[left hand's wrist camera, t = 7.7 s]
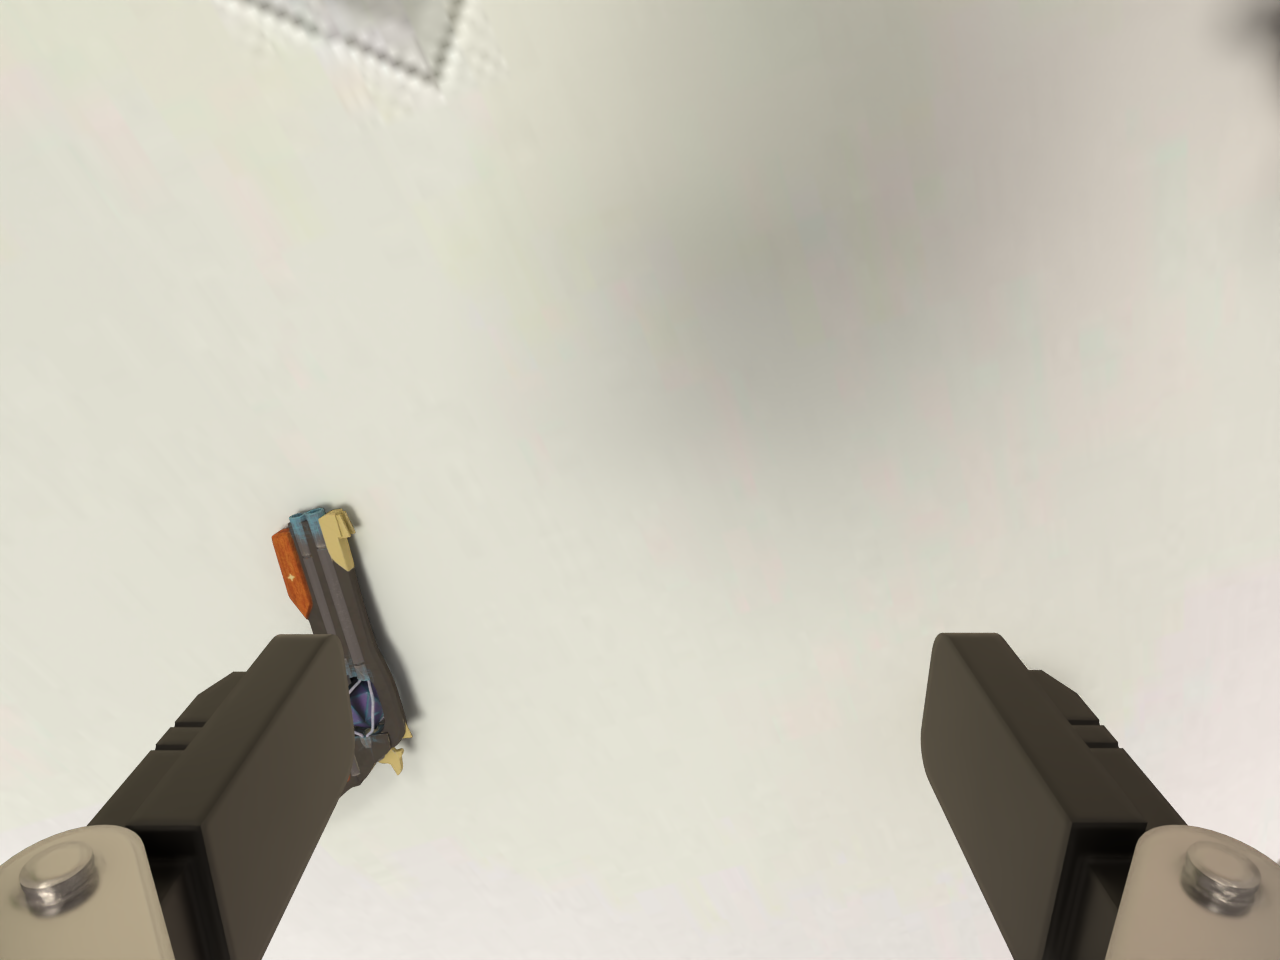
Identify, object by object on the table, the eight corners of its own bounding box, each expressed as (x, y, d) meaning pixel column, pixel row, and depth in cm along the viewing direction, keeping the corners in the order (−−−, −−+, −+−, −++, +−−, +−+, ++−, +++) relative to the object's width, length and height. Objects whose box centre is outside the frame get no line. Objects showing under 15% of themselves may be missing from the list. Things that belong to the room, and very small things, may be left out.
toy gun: (270, 840, 49) (429, 827, 48) (159, 540, 44) (332, 514, 42) (294, 809, 52) (445, 796, 50) (192, 523, 47) (356, 497, 45)
